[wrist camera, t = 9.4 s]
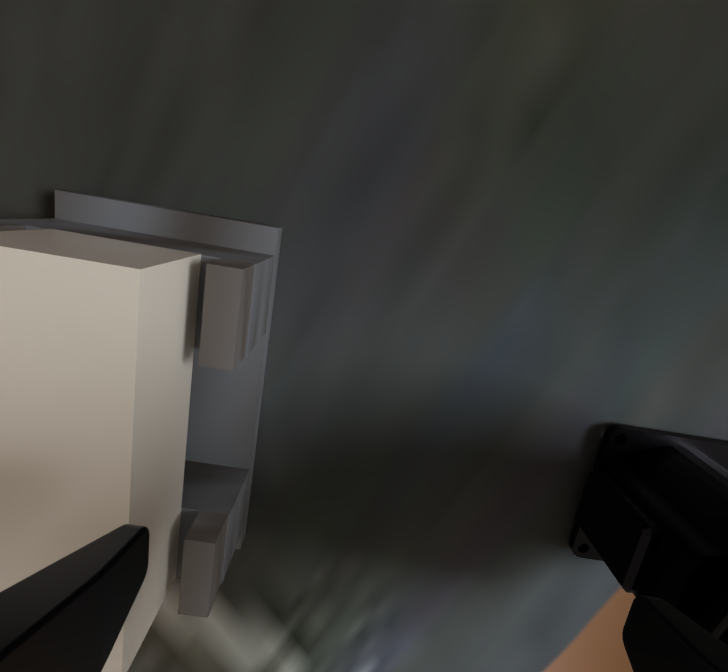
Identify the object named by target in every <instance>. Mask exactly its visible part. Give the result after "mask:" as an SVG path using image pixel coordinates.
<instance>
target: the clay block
mask: <svg viewBox="0 0 728 672" xmlns="http://www.w3.org/2000/svg"><path fill="white" fill-rule="evenodd" d="M200 264H201V254H198V253H192V252H186V251H180V250H174V249H168V248H162V247H156V246H150V245H144V244H138V243H133V242H127V241H121V240H115V239H109V238H103V237H97V236H91V235H85V234H79V233H73V232H67V231H62V230H56V229H36V230H16V231H0V592H1V591H3V590H5V589H7V588H8V587H10V586H12V585H14V584H16V583H18V582H19V581H21V580H23V579H25V578H27V577H28V576H30V575H32V574H34V573H36V572H38V571H39V570H41V569H43V568H45V567H47V566H49V565H50V564H52V563H54V562H56V561H58V560H60V559H61V558H63V557H65V556H67V555H69V554H70V553H72V552H74V551H76V550H78V549H80V548H81V547H83V546H85V545H87V544H89V543H91V542H92V541H94V540H96V539H98V538H100V537H102V536H103V535H105V534H107V533H109V532H111V531H112V530H114V529H116V528H118V527H120V526H122V525H124V524H133V525H140V526H146V527H147V528H148V529H149V533H150V537H149V561H148V569H147V573H146V576H145V579H144V581H143V583H142V586H141V588H140V590H139V592H138V594H137V596H136V599H135V601H134V603H133V605H132V607H131V610H130V612H129V614H128V616H127V618H126V620H125V623H124V625H123V627H122V629H121V631H120V633H119V636H118V638H117V640H116V642H115V644H114V646H113V649H112V651H111V653H110V655H109V657H108V659H107V661H106V663H105V665H104V667H103V669H102V671H101V672H127V671H128V669H129V667H130V665H131V663H132V661H133V659H134V657H135V656H136V654H137V652H138V650H139V648H140V646H141V644H142V642H143V640H144V638H145V636H146V634H147V632H148V630H149V628H150V626H151V624H152V622H153V620H154V619H155V617H156V615H157V613H158V611H159V609H160V607H161V605H162V603H163V601H164V599H165V597H166V595H167V593H168V591H169V589H170V587H171V585H172V583H173V582H174V580H175V578H176V569H177V556H178V543H179V531H180V518H181V505H182V493H183V480H184V467H185V455H186V442H187V429H188V417H189V404H190V391H191V378H192V366H193V353H194V340H195V328H196V315H197V302H198V290H199V277H200Z"/></svg>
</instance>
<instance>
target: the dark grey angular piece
mask: <svg viewBox="0 0 728 672" xmlns="http://www.w3.org/2000/svg"><path fill="white" fill-rule="evenodd" d="M282 228H283V227H277V226H271V225H266V224H260V223H254V222H248V221H242V220H237V219H231V218H225V217H219V216H213V215H207V214H202V213H196V212H190V211H184V210H178V209H173V208H167V207H161V206H155V205H149V204H143V203H138V202H132V201H126V200H120V199H114V198H109V197H103V196H97V195H91V194H85V193H80V192H74V191H63V190H55V218H47V219H0V231H16V230H36V229H56V230H62V231H67V232H73V233H79V234H85V235H91V236H97V237H103V238H109V239H115V240H121V241H127V242H133V243H138V244H144V245H150V246H156V247H162V248H168V249H174V250H180V251H186V252H192V253H198V254H201V264H200V277H199V290H198V302H197V315H196V328H195V340H194V353H193V366H192V378H191V391H190V404H189V417H188V429H187V442H186V455H185V467H184V480H183V493H182V505H181V518H180V531H179V543H178V556H177V569H176V577H177V578H181V586H180V598H179V610H178V614H185V615H193V616H200V617H208V615H209V613H210V610H211V607H212V605H213V602H214V600H215V597H216V594H217V592H218V589H219V587H220V584H222V582H223V580H224V577H225V574H226V572H227V569H228V567H229V564H230V561H231V559H232V556H233V553H234V551H235V549H240V548H241V545H242V543H243V540H244V537H245V534H246V526H247V518H248V510H249V501H250V493H251V485H252V477H253V468H254V460H255V452H256V443H257V435H258V427H259V418H260V410H261V402H262V394H263V385H264V377H265V369H266V360H267V352H268V344H269V335H270V327H271V319H272V311H273V302H274V294H275V286H276V277H277V269H278V261H279V252H280V244H281V236H282Z"/></svg>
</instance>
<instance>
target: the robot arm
mask: <svg viewBox="0 0 728 672" xmlns="http://www.w3.org/2000/svg"><path fill="white" fill-rule="evenodd" d="M619 434H622V436H621V438H620V439H618V440H615V438H616V436H617V435H619ZM575 520H576V521H575V524H574V527H573V530H572V533H571V536H570V539H569V546H570V548H571V550H572V552H573V553H574V554H575V555H576V556H578V557H581V558H588V559H595V560H602V561H604V562H605V563H606V565H607V566H608V568H609V569H610V571H611V572H612V574H613V575H614V576H615V578H616V579H617V581H618V582H619V584H620V585H621V586H622V588H623V589H624V590H625V591H626V592H628V593H633V594H634V595H635V597H636V598H635V599H634V601H633V603H632V606H631V609H630V611H629V614H628V617H627V620H626V622H625V625H624V628H623V642H624V646H625V649H626V652H627V655H628V658H629V660H630V663H631V666H632V669H633V671H634V672H728V441H722V440H715V439H709V438H703V437H696V436H690V435H683V434H677V433H671V432H664V431H658V430H652V429H645V428H639V427H633V426H626V425H620V424H617V425H612V426H610V427H609V428H608V429H607V430H606V432H605V434H604V437H603V440H602V443H601V446H600V449H599V452H598V455H597V458H596V461H595V464H594V467H593V469H592V471H591V472H590V473H589V476H588V479H587V482H586V486H585V489H584V492H583V495H582V498H581V501H580V504H579V507H578V510H577V513H576V516H575ZM149 537H150V533H149V529H148V528H147V527H146V526H140V525H133V524H124V525H122V526H120V527H118V528H116V529H114V530H112V531H111V532H109V533H107V534H105V535H103V536H102V537H100V538H98V539H96V540H94V541H92V542H91V543H89V544H87V545H85V546H83V547H81V548H80V549H78V550H76V551H74V552H72V553H70V554H69V555H67V556H65V557H63V558H61V559H60V560H58V561H56V562H54V563H52V564H50V565H49V566H47V567H45V568H43V569H41V570H39V571H38V572H36V573H34V574H32V575H30V576H28V577H27V578H25V579H23V580H21V581H19V582H18V583H16V584H14V585H12V586H10V587H8V588H7V589H5V590H3V591H1V592H0V672H101V671H102V669H103V667H104V665H105V663H106V661H107V659H108V657H109V655H110V653H111V651H112V649H113V646H114V644H115V642H116V640H117V638H118V636H119V633H120V631H121V629H122V627H123V625H124V623H125V620H126V618H127V616H128V614H129V612H130V610H131V607H132V605H133V603H134V601H135V599H136V596H137V594H138V592H139V590H140V588H141V586H142V583H143V581H144V579H145V576H146V573H147V569H148V561H149ZM581 544H584V545H583V546H581V547H579V545H581Z"/></svg>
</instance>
